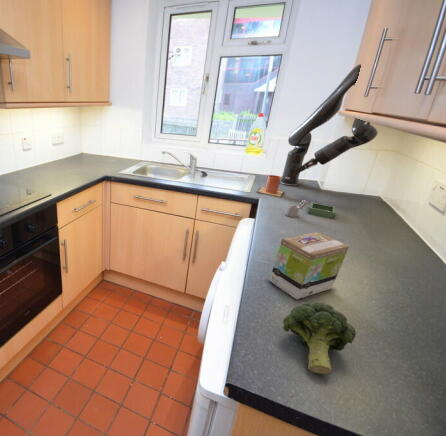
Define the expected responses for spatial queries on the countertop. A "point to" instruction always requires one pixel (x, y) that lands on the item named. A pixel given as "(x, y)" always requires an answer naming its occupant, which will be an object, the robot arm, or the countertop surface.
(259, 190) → the coaster
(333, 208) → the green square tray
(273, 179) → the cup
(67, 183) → the countertop surface
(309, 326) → the vegetable
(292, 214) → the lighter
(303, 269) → the tea box
